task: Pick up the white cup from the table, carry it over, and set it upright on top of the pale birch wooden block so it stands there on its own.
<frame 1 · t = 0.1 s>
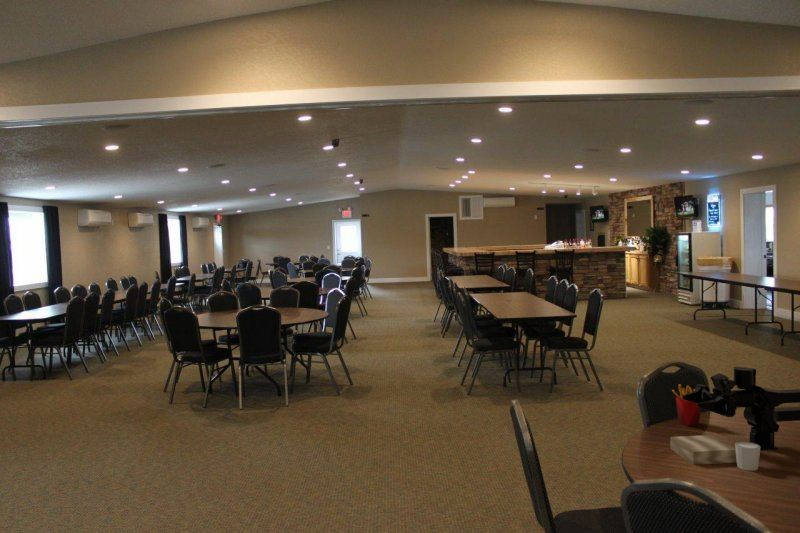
hand: (690, 401, 201), 17 cm above the table, tool horizontal, fingers open, 9 cm apart
french fries: (687, 425, 228), on the table
birch block: (702, 456, 198), on the table
white cup: (747, 467, 187), on the table
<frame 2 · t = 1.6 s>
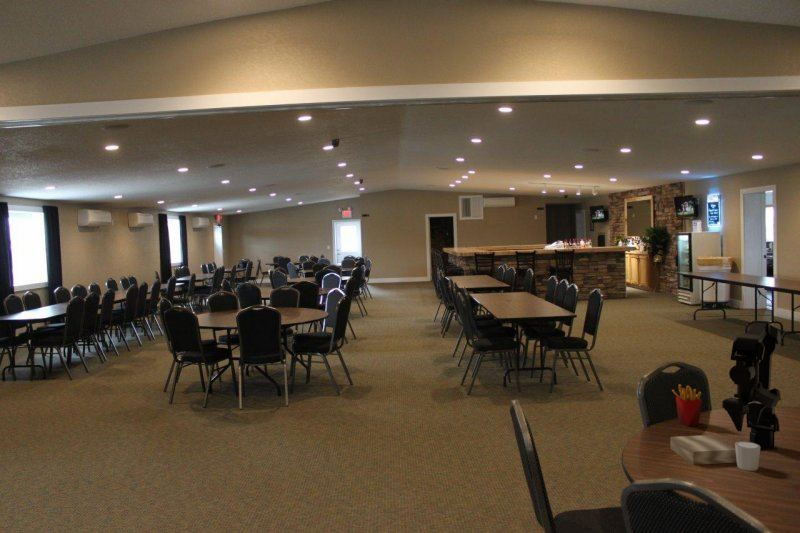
hand: (747, 428, 187), 12 cm above the table, tool pointing down, fingers open, 9 cm apart
nothing on the table moved.
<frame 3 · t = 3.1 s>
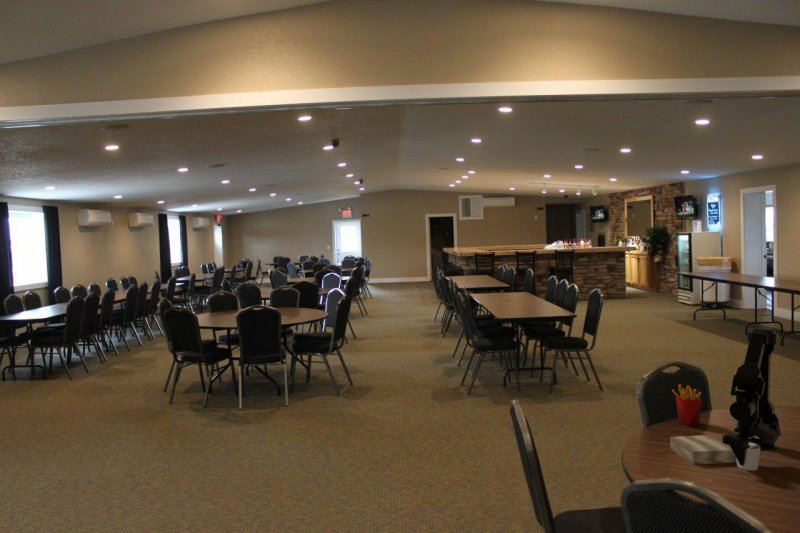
hand: (747, 462, 187), 1 cm above the table, tool pointing down, fingers closed on white cup, 6 cm apart
white cup: (747, 467, 187), on the table, touching gripper
everything else where it was.
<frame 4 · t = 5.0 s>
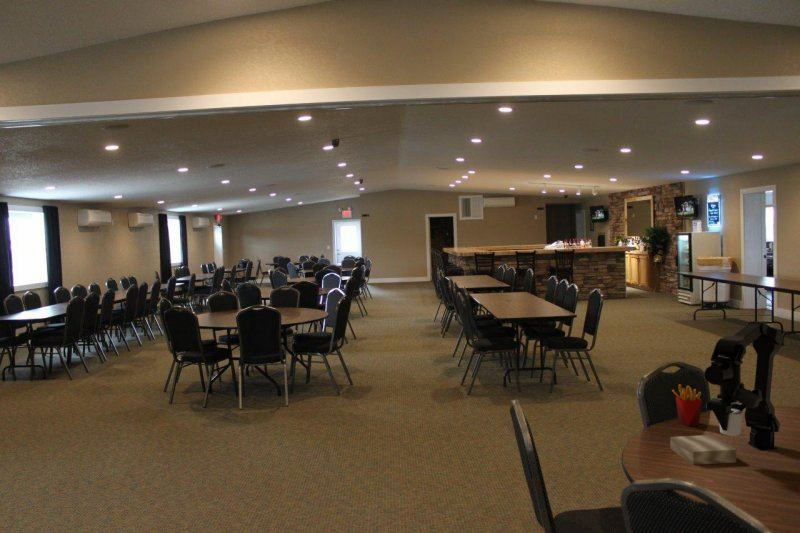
hand: (730, 428, 190), 11 cm above the table, tool pointing down, fingers closed on white cup, 6 cm apart
white cup: (730, 433, 190), point 9 cm above the table, touching gripper
everything else where it was.
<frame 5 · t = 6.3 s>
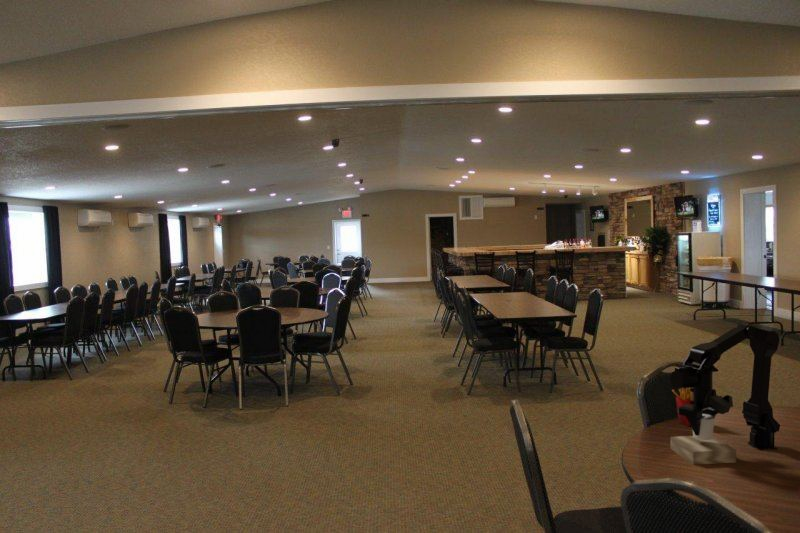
hand: (702, 433, 197), 7 cm above the table, tool pointing down, fingers closed on white cup, 6 cm apart
white cup: (702, 437, 197), point 6 cm above the table, touching gripper
everything else where it was.
when the fingers open (7 cm above the table, at t = 7.3 s): white cup drops 2 cm, resting on birch block.
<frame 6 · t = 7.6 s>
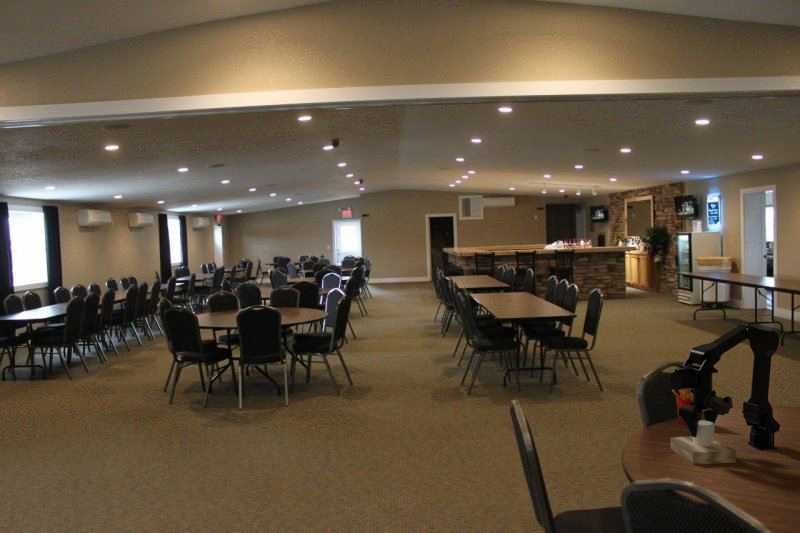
hand: (702, 434, 197), 7 cm above the table, tool pointing down, fingers open, 9 cm apart
birch block: (702, 457, 198), on the table, touching white cup
white cup: (702, 444, 197), point 4 cm above the table, touching birch block
everything else where it was.
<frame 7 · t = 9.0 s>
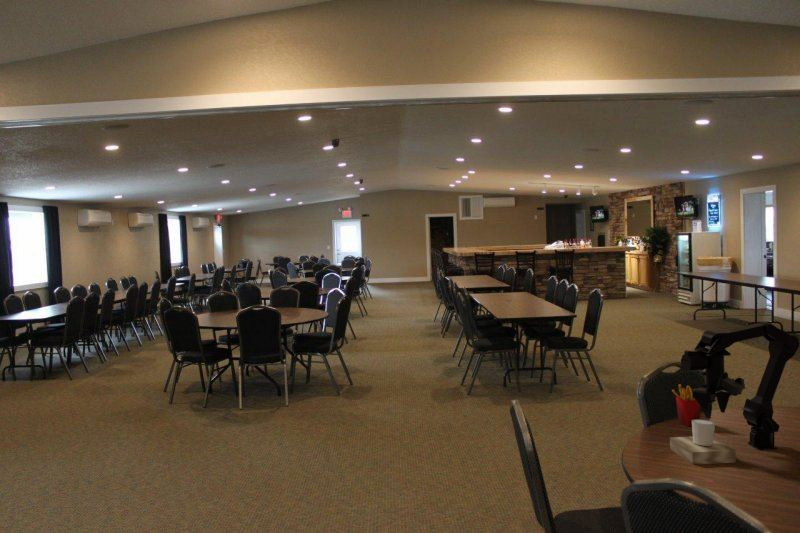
hand: (715, 415, 202), 12 cm above the table, tool pointing down, fingers open, 9 cm apart
birch block: (701, 457, 198), on the table
white cup: (702, 443, 197), point 4 cm above the table
everything else where it was.
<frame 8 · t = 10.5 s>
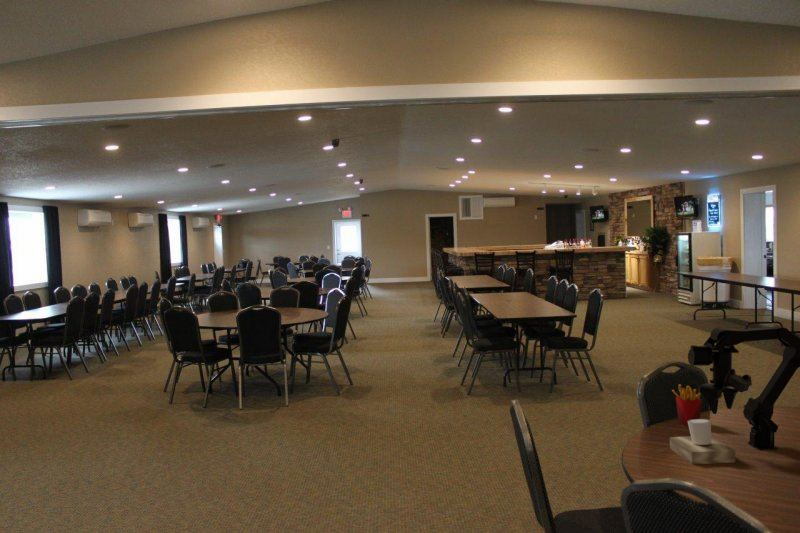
hand: (721, 411, 205), 12 cm above the table, tool pointing down, fingers open, 9 cm apart
birch block: (701, 456, 198), on the table, touching white cup
white cup: (702, 443, 197), point 4 cm above the table, touching birch block
everything else where it was.
at the end: white cup inside the target area on the birch block (0.2 cm from its centre), point 4.6 cm above the birch block's base; white cup tilted 6°; the gripper is holding nothing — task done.
